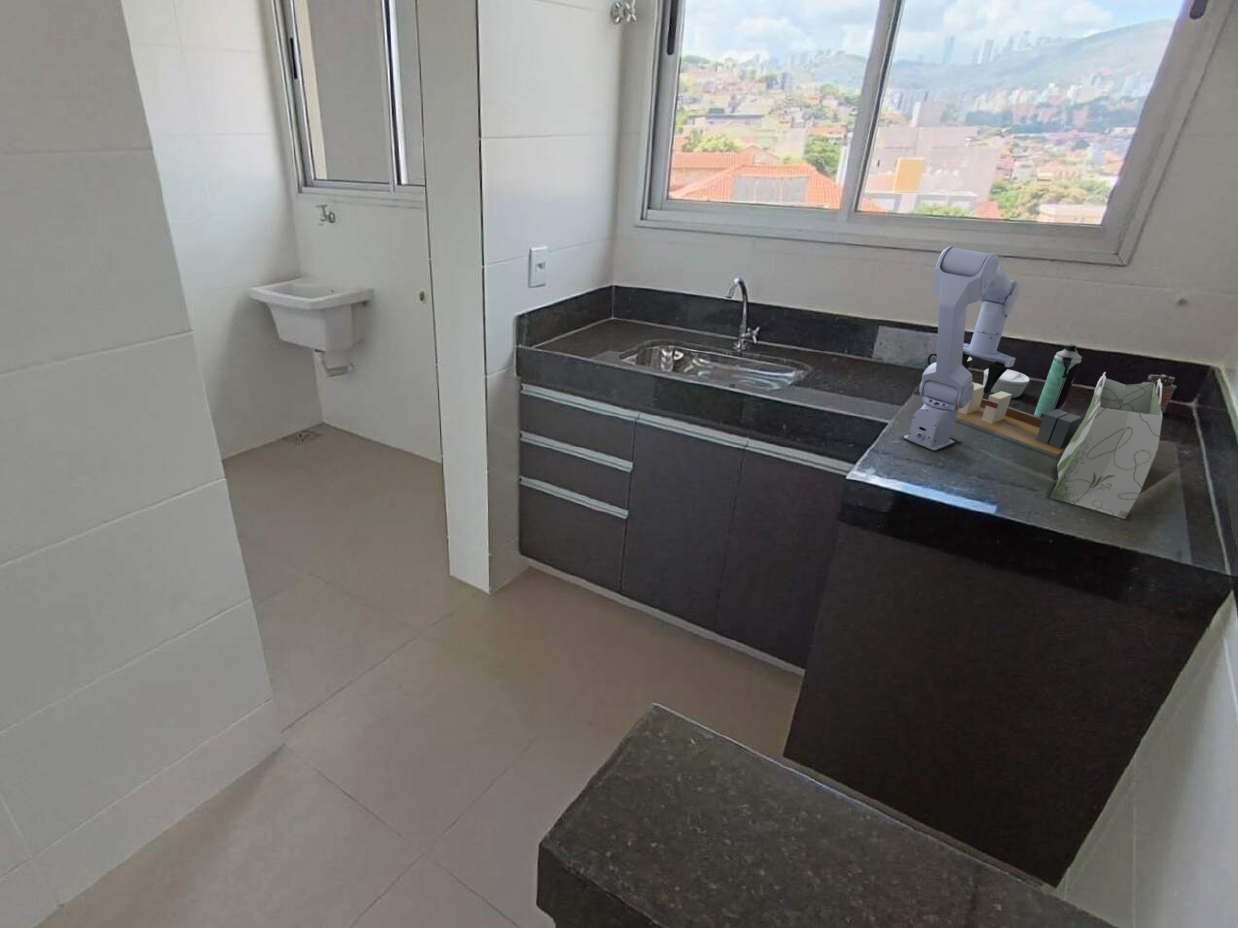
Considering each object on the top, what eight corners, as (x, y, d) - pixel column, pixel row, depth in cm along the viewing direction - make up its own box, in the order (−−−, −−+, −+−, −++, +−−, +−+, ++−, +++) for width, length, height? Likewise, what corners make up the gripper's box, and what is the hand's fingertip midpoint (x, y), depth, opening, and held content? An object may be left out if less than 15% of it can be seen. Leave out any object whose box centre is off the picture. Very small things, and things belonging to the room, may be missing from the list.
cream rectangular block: (966, 414, 168) (973, 390, 165) (956, 411, 170) (963, 387, 167) (978, 410, 172) (986, 386, 169) (968, 406, 174) (976, 383, 171)
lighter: (1159, 409, 181) (1175, 374, 177) (1167, 414, 178) (1183, 378, 174) (1128, 407, 182) (1143, 372, 178) (1135, 412, 179) (1151, 376, 174)
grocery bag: (1062, 447, 157) (1099, 350, 147) (1133, 465, 150) (1177, 365, 140) (1045, 498, 134) (1087, 388, 123) (1128, 523, 127) (1181, 408, 116)
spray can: (1060, 428, 166) (1090, 349, 157) (1036, 425, 167) (1064, 347, 158) (1052, 419, 171) (1080, 343, 162) (1029, 417, 172) (1056, 340, 163)
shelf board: (1055, 458, 150) (1060, 446, 149) (928, 411, 172) (931, 400, 171) (1083, 444, 158) (1087, 433, 156) (958, 401, 180) (961, 390, 178)
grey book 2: (1060, 448, 153) (1070, 422, 150) (1048, 444, 154) (1058, 418, 151) (1072, 442, 156) (1082, 417, 153) (1060, 438, 158) (1070, 413, 155)
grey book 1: (1047, 443, 155) (1056, 417, 152) (1035, 439, 156) (1044, 413, 154) (1059, 438, 158) (1068, 412, 155) (1047, 434, 160) (1056, 408, 157)
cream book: (991, 424, 164) (999, 399, 161) (980, 420, 166) (988, 395, 163) (1004, 419, 167) (1012, 394, 164) (993, 415, 169) (1001, 391, 166)
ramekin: (1029, 402, 182) (1035, 383, 179) (985, 397, 184) (991, 378, 181) (1016, 388, 192) (1022, 370, 189) (974, 383, 193) (980, 366, 191)
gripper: (1028, 337, 153) (1009, 393, 159) (967, 321, 163) (951, 375, 169) (1013, 341, 149) (994, 399, 155) (951, 325, 159) (936, 379, 165)
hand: (971, 387), depth 162 cm, fingers open, 7 cm apart
